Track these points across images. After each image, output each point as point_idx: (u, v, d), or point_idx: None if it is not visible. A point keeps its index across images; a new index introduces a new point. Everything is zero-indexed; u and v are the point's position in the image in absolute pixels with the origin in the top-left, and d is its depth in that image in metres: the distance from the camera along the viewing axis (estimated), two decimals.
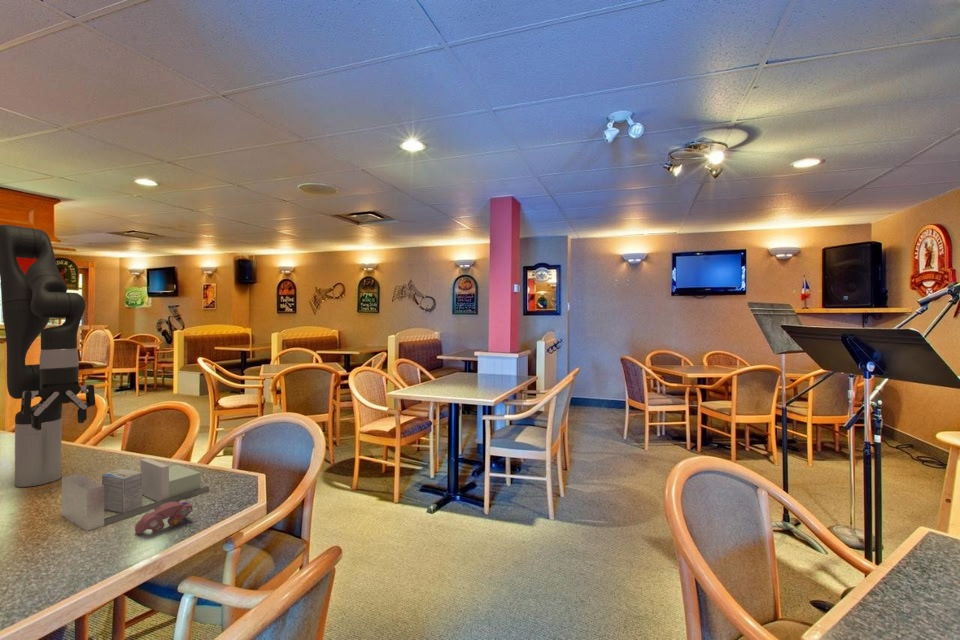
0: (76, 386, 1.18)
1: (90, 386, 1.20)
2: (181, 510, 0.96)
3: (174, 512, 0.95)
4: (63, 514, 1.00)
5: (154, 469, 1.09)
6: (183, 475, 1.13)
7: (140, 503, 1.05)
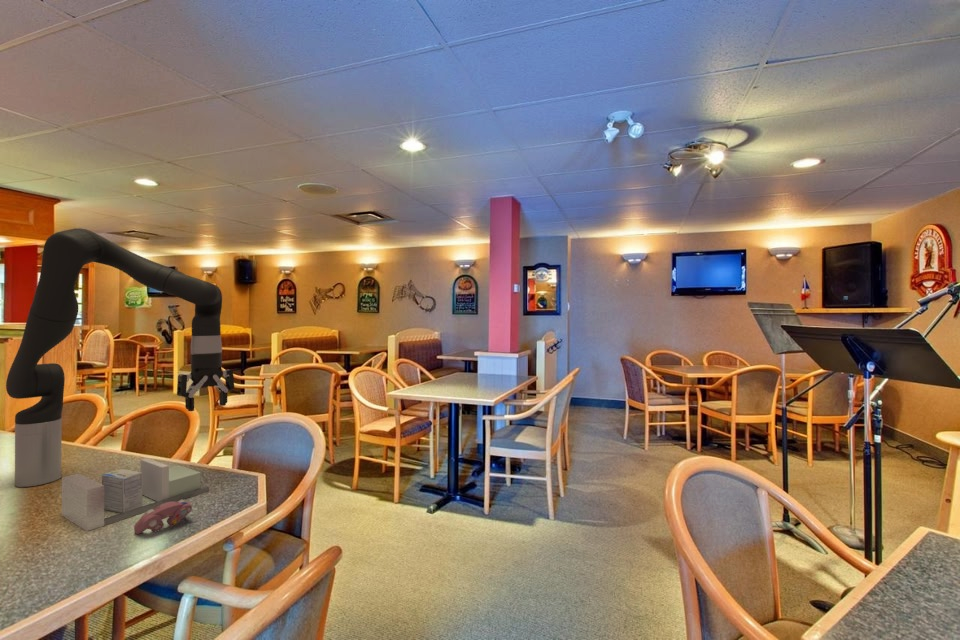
0: (220, 371, 1.25)
1: (230, 371, 1.27)
2: (180, 510, 0.96)
3: (173, 512, 0.95)
4: (63, 514, 1.00)
5: (154, 469, 1.09)
6: (183, 475, 1.13)
7: (140, 503, 1.05)
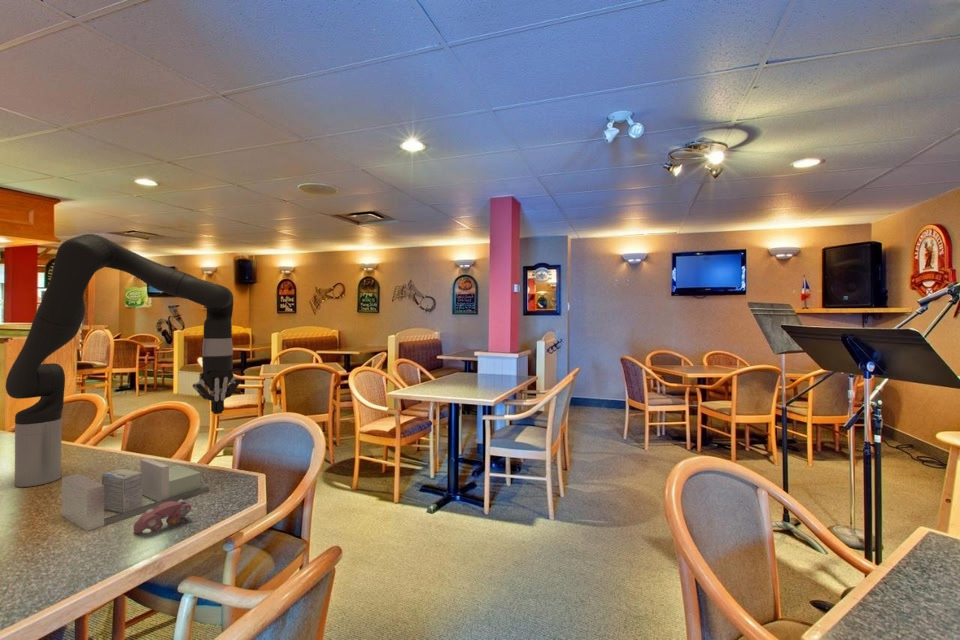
0: (232, 373, 1.27)
1: (238, 380, 1.29)
2: (179, 510, 0.96)
3: (173, 511, 0.95)
4: (63, 514, 1.00)
5: (154, 469, 1.09)
6: (183, 475, 1.13)
7: (140, 503, 1.05)
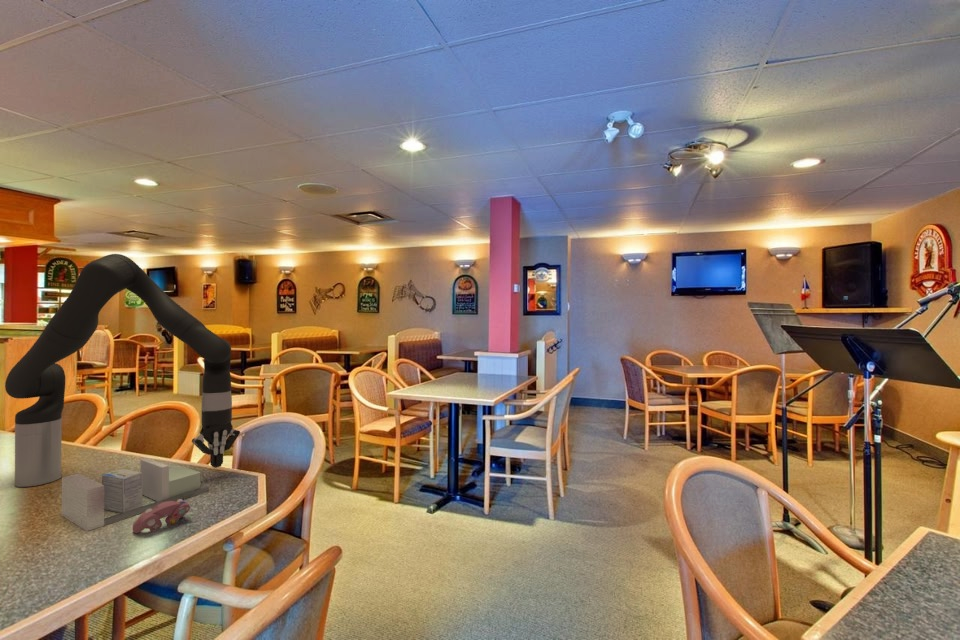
0: (231, 425, 1.27)
1: (238, 432, 1.28)
2: (178, 509, 0.96)
3: (172, 511, 0.96)
4: (63, 514, 1.00)
5: (154, 469, 1.09)
6: (183, 475, 1.13)
7: (140, 503, 1.05)
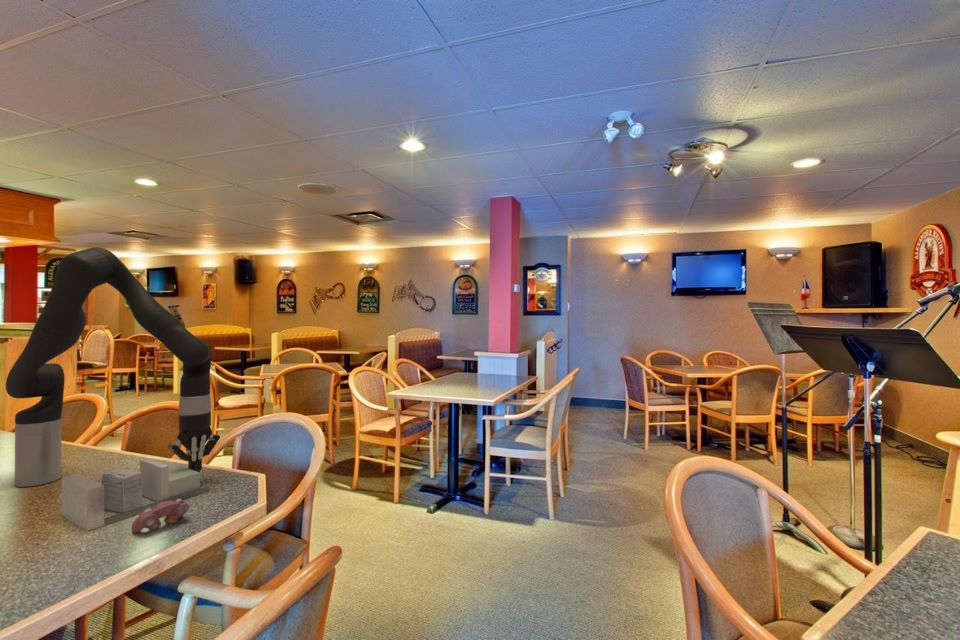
0: (210, 430, 1.22)
1: (218, 436, 1.24)
2: (177, 509, 0.97)
3: (171, 511, 0.96)
4: (63, 514, 1.00)
5: (153, 469, 1.09)
6: (182, 475, 1.13)
7: (140, 503, 1.05)
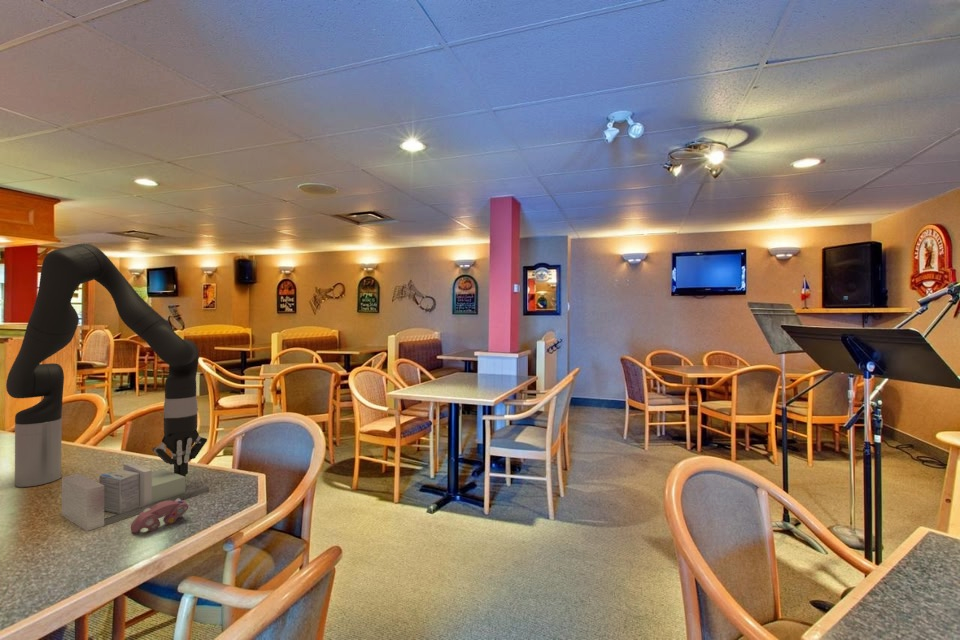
0: (197, 433, 1.19)
1: (204, 439, 1.20)
2: (177, 509, 0.97)
3: (170, 511, 0.96)
4: (63, 514, 1.00)
5: None
6: (167, 479, 1.10)
7: (138, 504, 1.05)
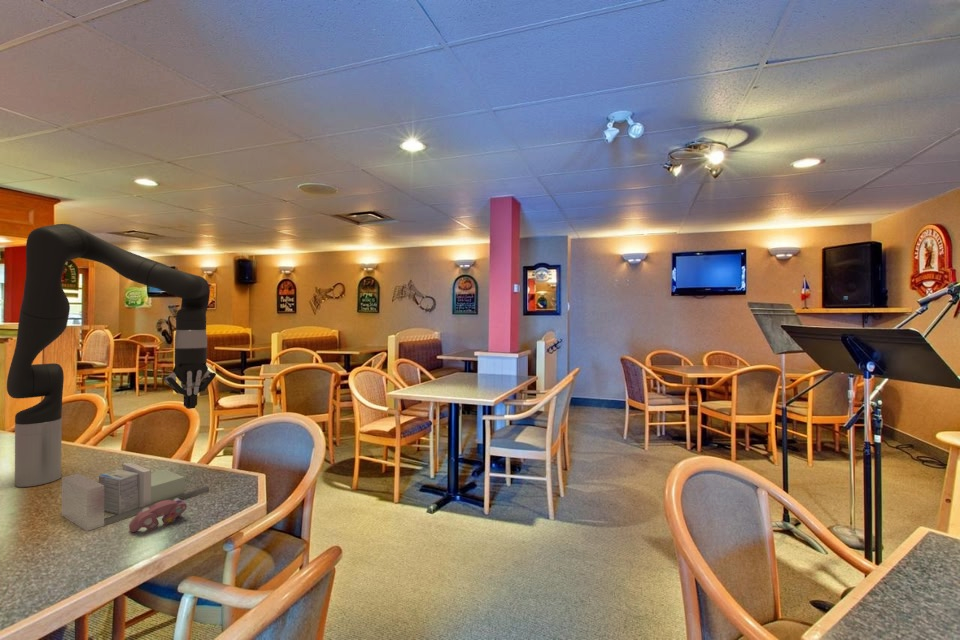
0: (206, 367, 1.22)
1: (213, 374, 1.23)
2: (175, 508, 0.97)
3: (168, 510, 0.96)
4: (63, 514, 1.00)
5: None
6: (166, 479, 1.10)
7: (137, 504, 1.05)
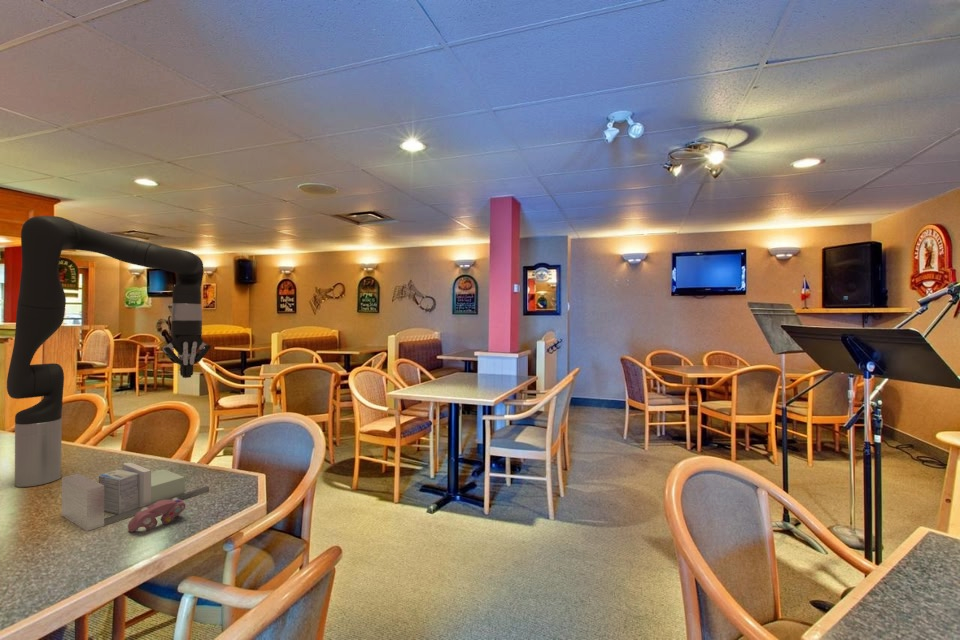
0: (201, 339, 1.30)
1: (208, 346, 1.31)
2: (174, 508, 0.97)
3: (167, 510, 0.96)
4: (63, 514, 1.00)
5: None
6: (166, 479, 1.10)
7: (137, 504, 1.05)
